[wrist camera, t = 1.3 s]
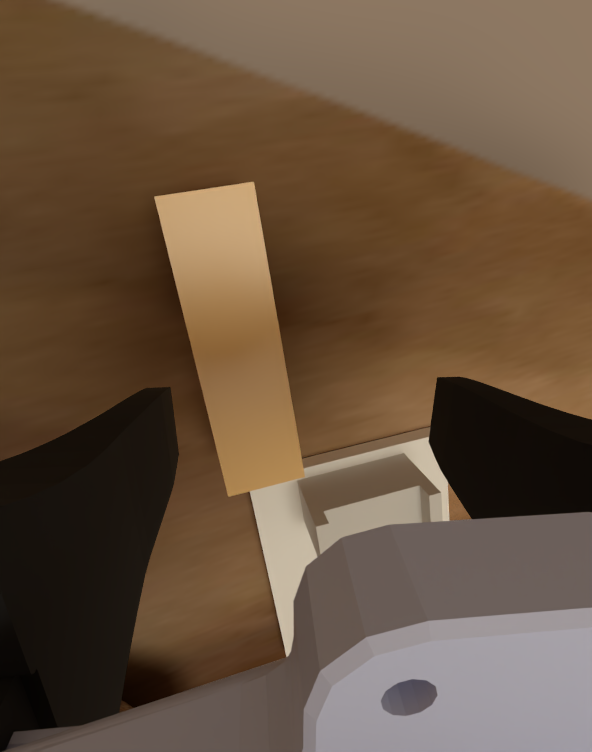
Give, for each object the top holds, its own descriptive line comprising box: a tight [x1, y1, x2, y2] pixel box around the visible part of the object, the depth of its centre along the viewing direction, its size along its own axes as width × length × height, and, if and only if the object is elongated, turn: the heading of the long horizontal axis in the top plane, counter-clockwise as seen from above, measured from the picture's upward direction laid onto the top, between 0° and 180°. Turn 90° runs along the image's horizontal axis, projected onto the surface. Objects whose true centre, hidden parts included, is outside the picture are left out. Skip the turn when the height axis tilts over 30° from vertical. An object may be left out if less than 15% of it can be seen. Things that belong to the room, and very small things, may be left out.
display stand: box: [250, 427, 449, 656], centre depth 24 cm, size 11×13×5 cm
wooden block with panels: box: [154, 182, 305, 497], centre depth 19 cm, size 4×12×4 cm, turn 9°
